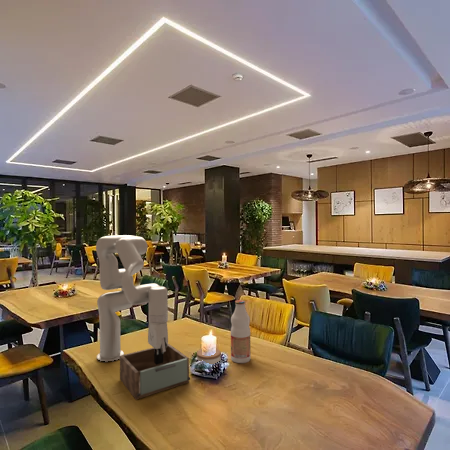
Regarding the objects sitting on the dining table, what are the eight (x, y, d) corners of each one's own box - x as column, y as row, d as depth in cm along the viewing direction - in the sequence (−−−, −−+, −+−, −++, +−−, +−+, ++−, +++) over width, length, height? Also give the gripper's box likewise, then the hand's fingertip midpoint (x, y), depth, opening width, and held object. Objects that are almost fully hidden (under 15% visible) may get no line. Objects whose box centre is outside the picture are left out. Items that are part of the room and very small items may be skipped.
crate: (120, 379, 135) (119, 355, 135) (168, 365, 148) (168, 343, 148) (137, 401, 119) (136, 374, 118) (190, 383, 131) (190, 359, 131)
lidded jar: (199, 376, 137) (199, 354, 137) (194, 365, 148) (194, 345, 148) (223, 373, 140) (223, 351, 140) (217, 363, 151) (217, 343, 151)
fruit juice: (240, 365, 148) (239, 304, 148) (226, 358, 155) (226, 300, 155) (254, 359, 154) (254, 301, 154) (241, 353, 161) (240, 297, 161)
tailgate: (140, 393, 120) (140, 371, 120) (186, 378, 131) (185, 358, 131) (142, 395, 119) (142, 373, 119) (188, 380, 130) (188, 359, 130)
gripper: (142, 315, 134) (143, 359, 134) (157, 324, 122) (157, 372, 122) (159, 312, 138) (159, 354, 138) (175, 320, 126) (175, 367, 126)
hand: (158, 363), depth 130 cm, fingers closed
